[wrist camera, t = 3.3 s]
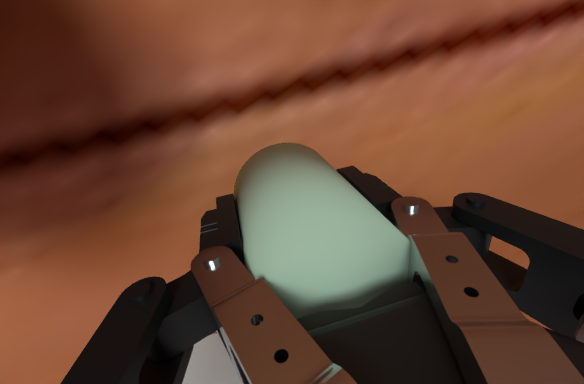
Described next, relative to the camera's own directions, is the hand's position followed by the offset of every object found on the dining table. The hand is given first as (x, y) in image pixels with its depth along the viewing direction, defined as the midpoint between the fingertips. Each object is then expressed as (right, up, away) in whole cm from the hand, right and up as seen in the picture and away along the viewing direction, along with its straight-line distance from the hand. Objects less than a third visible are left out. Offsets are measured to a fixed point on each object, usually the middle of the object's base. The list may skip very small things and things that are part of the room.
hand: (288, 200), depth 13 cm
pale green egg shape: (0, 0, +1) cm, 1 cm away
